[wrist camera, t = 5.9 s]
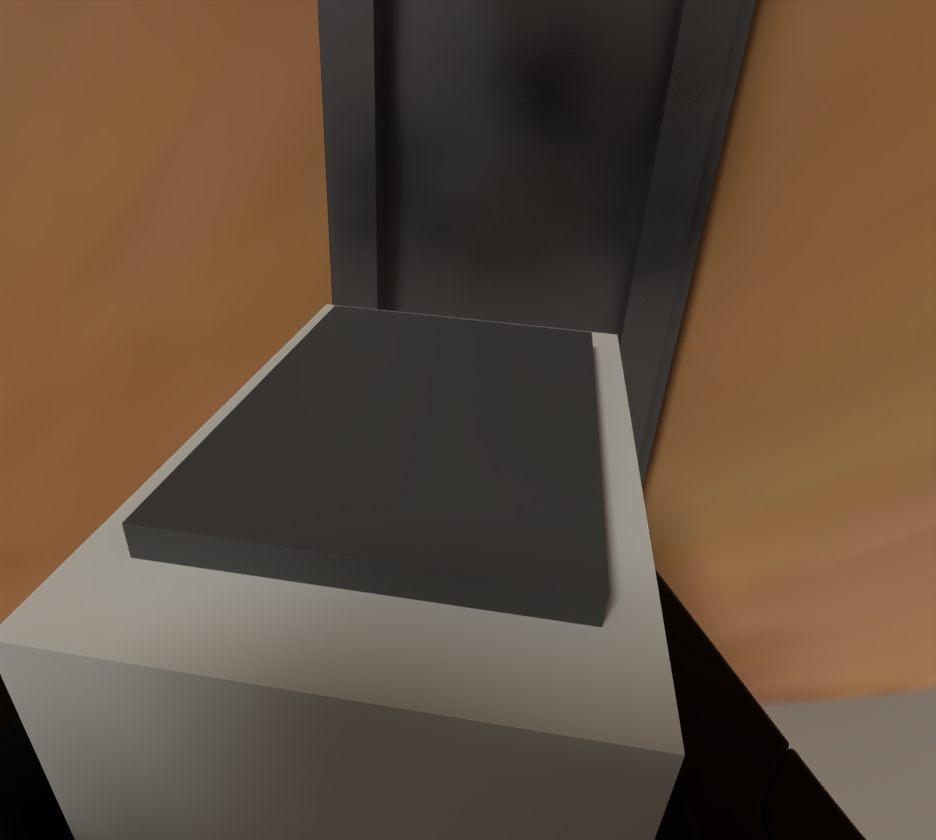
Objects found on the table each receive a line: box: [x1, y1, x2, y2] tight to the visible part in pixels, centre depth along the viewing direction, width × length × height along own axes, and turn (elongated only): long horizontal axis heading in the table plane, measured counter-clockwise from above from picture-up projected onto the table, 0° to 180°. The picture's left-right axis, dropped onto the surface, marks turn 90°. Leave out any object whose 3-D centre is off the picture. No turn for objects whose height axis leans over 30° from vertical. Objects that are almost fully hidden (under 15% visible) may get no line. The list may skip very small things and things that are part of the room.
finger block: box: [0, 304, 685, 840], centre depth 7 cm, size 5×4×6 cm
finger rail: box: [318, 0, 756, 487], centre depth 14 cm, size 9×22×2 cm, turn 176°
